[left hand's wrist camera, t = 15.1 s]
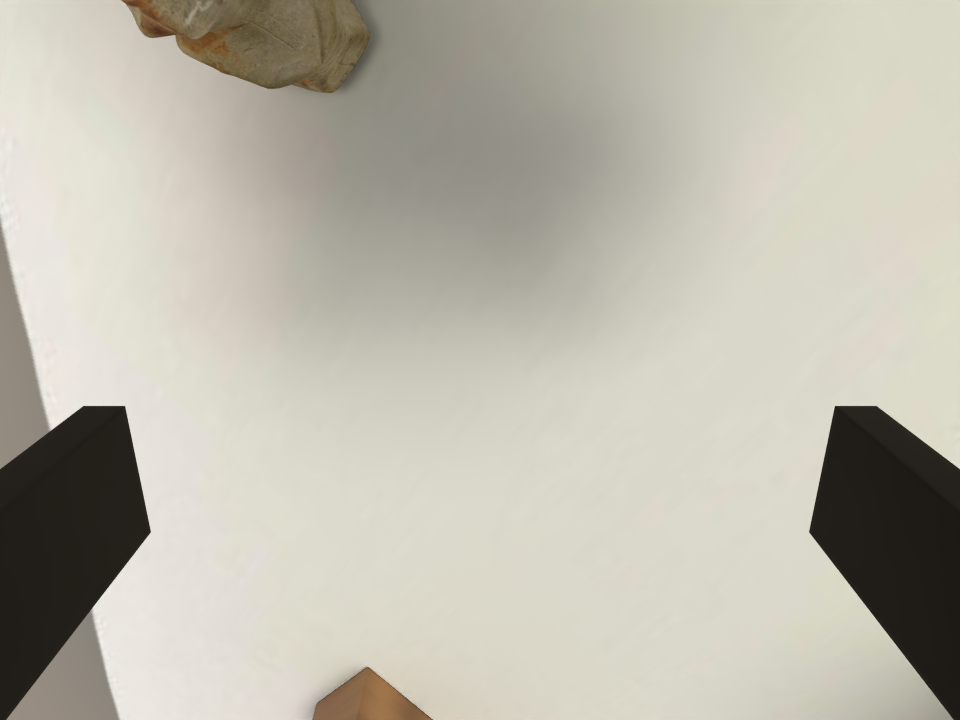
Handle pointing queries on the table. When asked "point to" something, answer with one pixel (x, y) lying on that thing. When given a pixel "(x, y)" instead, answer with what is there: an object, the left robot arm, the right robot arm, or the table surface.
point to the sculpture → (263, 37)
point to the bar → (367, 701)
